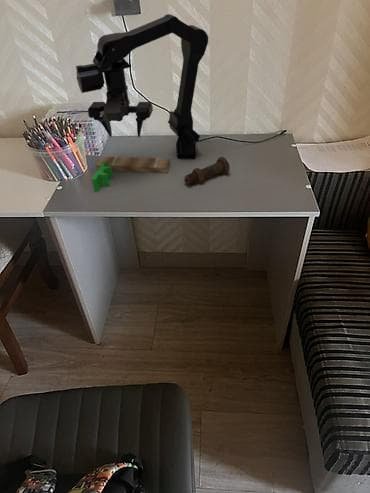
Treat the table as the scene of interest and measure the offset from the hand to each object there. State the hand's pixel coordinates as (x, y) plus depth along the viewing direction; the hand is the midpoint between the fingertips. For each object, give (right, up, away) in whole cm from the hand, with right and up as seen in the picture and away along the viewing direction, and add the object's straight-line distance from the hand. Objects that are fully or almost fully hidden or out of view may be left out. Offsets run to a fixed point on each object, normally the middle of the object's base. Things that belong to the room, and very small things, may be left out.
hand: (124, 136), depth 118 cm
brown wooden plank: (+2, -8, +9) cm, 12 cm away
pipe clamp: (-7, -14, +3) cm, 16 cm away
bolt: (+26, -13, +2) cm, 29 cm away
